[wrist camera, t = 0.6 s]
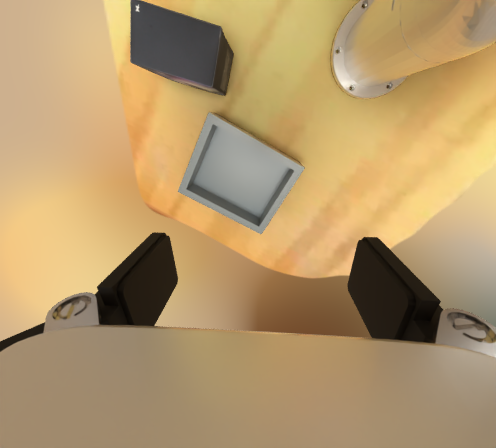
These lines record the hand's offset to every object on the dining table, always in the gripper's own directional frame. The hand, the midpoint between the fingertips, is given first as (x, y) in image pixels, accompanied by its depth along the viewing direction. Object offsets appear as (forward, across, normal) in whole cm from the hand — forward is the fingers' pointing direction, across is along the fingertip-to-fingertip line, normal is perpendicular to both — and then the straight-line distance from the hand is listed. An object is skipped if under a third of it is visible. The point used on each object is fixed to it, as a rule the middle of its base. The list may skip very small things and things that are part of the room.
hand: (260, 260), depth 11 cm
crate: (+32, +4, +3) cm, 32 cm away
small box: (+32, +11, -15) cm, 37 cm away
